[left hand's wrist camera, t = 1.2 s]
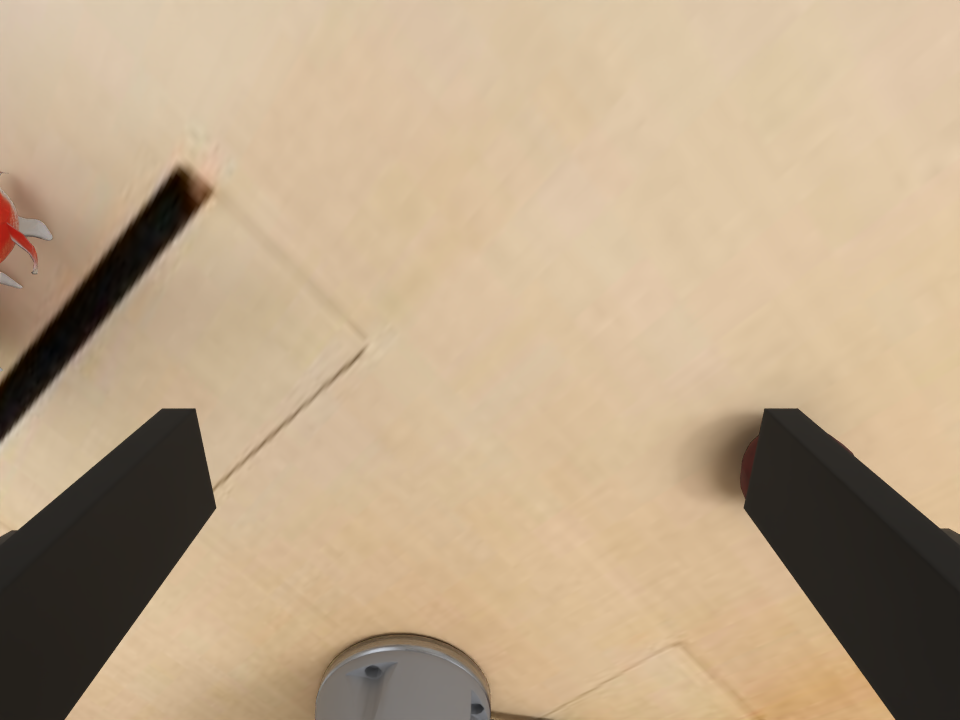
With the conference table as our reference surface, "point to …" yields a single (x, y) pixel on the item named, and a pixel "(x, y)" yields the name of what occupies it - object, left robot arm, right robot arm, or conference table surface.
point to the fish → (17, 235)
